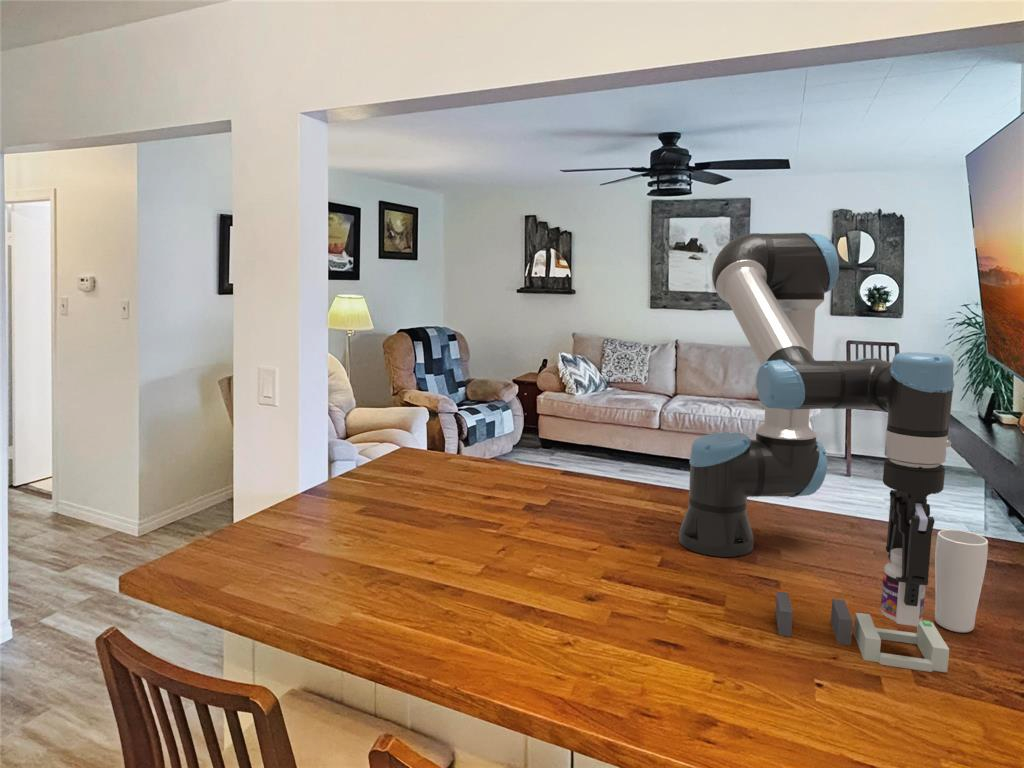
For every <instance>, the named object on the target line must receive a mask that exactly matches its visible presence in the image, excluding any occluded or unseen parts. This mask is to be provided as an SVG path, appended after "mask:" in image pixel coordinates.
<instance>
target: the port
mask: <svg viewBox="0 0 1024 768" xmlns="http://www.w3.org/2000/svg"><path fill="white" fill-rule="evenodd" d="M853 635H854V638H855V640H856V643H857V647H858V649H859V651H860V654H861V657H862V660H863V661H867V662H874V663H879V665H882V666H888V667H889V666H890V667H896V668H902V669H908V670H915V671H922V672H929V673H932V672H933V671H934V672H939V673H948V668H949V659H950V658H949V657H950V648H949V647H948V645H947V643H946V641H944V638H943V637H942V635H941V634H940V632H939V631H938V628H937V627H936V626H935V624H934V622H931V620H925V619H922V620H921V621H920V622H919V623H918V626H916V632H909V631H902V630H894V629H888V628H887V629H886V628H880V627H876V626H875V623H874V622H873V619H872V616H871V614H869V613H861V612H855V614H854V627H853ZM882 640H884V641H890V642H897V643H898V642H899V643H905V644H913V645H917V647H918V649H919V650H920V653H921V654H922V656H923V658H920V657H914V656H906V655H898V654H893V653H885V652H881V646H882V645H881V644H882Z"/></svg>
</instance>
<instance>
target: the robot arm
mask: <svg viewBox="0 0 1024 768" xmlns="http://www.w3.org/2000/svg"><path fill="white" fill-rule="evenodd" d="M839 273H840V263H839V256H838V251H837V249H836V247H835V245H834V244H833V243H832V241H831V240H830V239H829V238H828V237H827V236H825V235H823V234H821V233H819V234H818V233H807V232H791V233H789V232H788V233H787V232H786V233H783V232H782V233H781V232H780V233H758V232H756V233H755V232H753V233H747V234H743V235H741V236H738V237H736V238H734V239H732V240H731V241H729V242H728V243H727V244H726V245H724V246H723V248H722V249H721V250H720V251H719V253H718V255H717V256H716V258H715V260H714V263H713V266H712V270H711V277H712V284H713V287H714V289H715V291H716V293H717V295H718V297H719V298H720V299H721V300H722V301H723V302H725V303H728V304H729V305H728V306H730V308H731V310H732V312H733V314H734V316H735V318H736V320H737V322H738V323H739V325H740V327H741V328H740V329H742V332H743V334H744V336H745V337H746V339H747V341H748V343H749V345H750V347H751V349H752V351H753V352H754V355H755V356H756V358H757V361H758V363H759V365H760V366H759V368H758V370H757V374H756V380H755V381H756V383H755V386H756V390H757V396H758V397H757V398H758V400H759V401H760V404H762V405H763V406H764V423H763V424H762V425H761V426H759V428H757V429H756V431H755V433H756V434H755V440H751V439H750V437H749V435H747V434H744V433H740V432H717V433H716V432H715V433H709V434H706V435H705V434H704V435H701V436H699V437H698V438H697V439H695V440H694V441H693V442H692V444H691V451H690V457H689V466H690V467H689V490H688V491H689V492H688V493H689V494H688V496H689V497H688V506H687V510H686V512H685V515H684V517H683V520H682V522H681V525H680V527H679V534H678V537H679V538H678V541H679V543H680V545H681V546H683V547H684V548H686V549H688V550H690V551H691V552H695V553H698V554H701V555H706V556H710V557H711V556H712V557H720V558H729V557H730V558H732V557H741V556H745V555H748V554H749V553H751V552H753V550H754V543H755V542H754V540H755V539H754V538H755V537H754V534H753V530H752V527H751V523H750V520H749V517H748V514H747V503H748V502H747V500H748V497H757V498H758V497H764V498H765V497H788V498H796V497H803V496H805V497H806V496H811V495H814V494H815V493H816V492H817V491H818V490H819V489H820V488H821V487H822V485H823V483H824V482H825V478H826V475H827V471H828V457H827V456H826V453H827V452H826V451H827V450H826V448H825V447H824V445H823V444H822V443H821V442H820V441H818V440H817V434H816V432H814V430H813V429H812V428H811V427H810V410H823V409H825V410H828V409H830V410H831V409H832V410H833V409H834V410H840V409H841V410H844V409H846V410H853V409H854V410H858V409H859V410H860V409H861V410H862V409H863V410H865V409H867V410H869V409H870V410H872V409H873V410H878V411H882V412H884V413H887V422H886V423H887V424H886V431H885V440H884V441H885V442H884V456H885V457H887V459H885V460H884V461H883V473H882V475H883V476H882V483H883V484H884V485H885V486H886V487H888V488H889V489H890V490H889V512H888V524H887V525H888V526H887V534H886V535H887V538H886V547H885V551H886V553H888V554H887V555H888V557H887V558H888V560H889V562H888V563H890V562H891V560H890V555H891V550H892V549H895V548H902V577H896V580H897V582H899V587H898V599H897V611H896V621H895V623H896V624H898V625H905V626H913V627H917V626H918V623H919V612H920V601H921V590H922V585H926V586H928V584H929V574H930V573H929V571H930V558H931V550H932V549H931V547H932V546H931V545H932V534H933V530H934V524H935V522H936V521H935V518H934V516H930V514H931V506H930V504H928V499H927V497H928V496H929V495H932V494H933V495H936V494H939V493H941V492H942V491H943V490H944V488H945V487H944V485H945V478H946V477H945V475H946V474H945V473H946V468H945V466H944V464H943V463H944V462H946V460H947V448H949V447H952V442H951V440H949V439H948V438H949V437H948V436H949V429H950V423H951V422H950V421H951V410H952V402H953V394H954V388H955V381H954V369H955V368H954V366H955V365H954V360H953V359H952V358H951V356H949V355H947V354H941V353H931V352H930V353H929V352H911V351H910V352H898V353H896V354H895V355H894V356H893V358H892V361H887V360H883V359H882V358H877V357H875V358H865V357H864V358H858V359H855V360H816V359H814V357H813V356H814V339H815V321H816V310H817V308H819V307H820V305H822V303H824V302H825V294H826V293H828V292H831V291H832V290H833V289H834V287H835V286H836V284H837V282H836V281H837V280H838V278H839Z"/></svg>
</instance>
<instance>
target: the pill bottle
mask: <svg viewBox="0 0 1024 768" xmlns="http://www.w3.org/2000/svg"><path fill="white" fill-rule="evenodd" d="M890 560H891V561H890ZM890 560H889V562H890V563H889V562H887V563H886V564H885V565H884V567H883V577H882V587H881V588H882V589H881V591H882V592H881V601H880V611H881V613H882V614H883V616H885V617H886V618H888V619H890V620H892V621H895V622H896V611H897V599H898V587H899V582H897V580H896V577H902V548H895V549H892V550H891V555H890ZM926 586H927V585H922V590H921V601H920V612H919V622H920V621H922V620H923V618H924V616H923V615H924V609H925V608H924V607H925V599H926V588H927V587H926Z"/></svg>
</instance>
